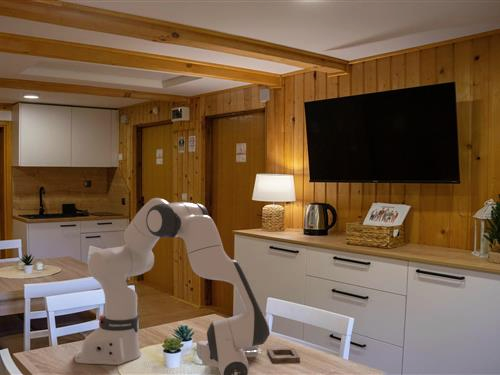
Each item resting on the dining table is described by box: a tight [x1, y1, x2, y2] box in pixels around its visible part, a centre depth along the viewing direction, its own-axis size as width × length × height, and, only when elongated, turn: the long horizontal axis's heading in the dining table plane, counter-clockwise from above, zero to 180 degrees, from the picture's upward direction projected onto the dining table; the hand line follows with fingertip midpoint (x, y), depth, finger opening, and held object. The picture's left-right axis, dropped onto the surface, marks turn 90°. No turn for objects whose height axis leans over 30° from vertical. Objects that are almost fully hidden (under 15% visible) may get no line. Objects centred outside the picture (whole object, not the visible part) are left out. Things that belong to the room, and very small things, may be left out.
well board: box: [266, 347, 301, 363], centre depth 184 cm, size 10×10×2 cm
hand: (225, 340), depth 173 cm, fingers open, 8 cm apart
